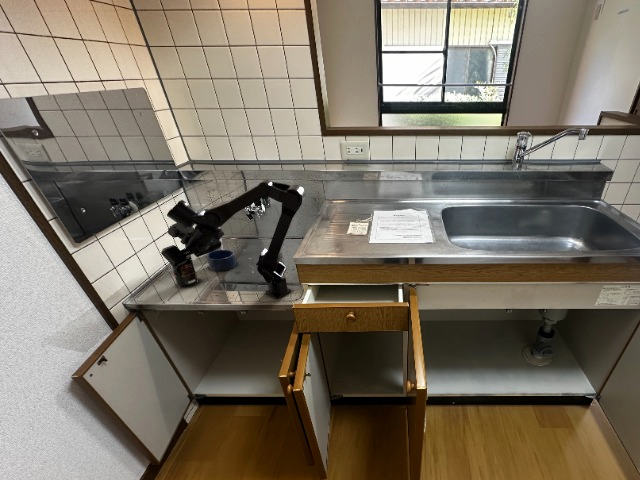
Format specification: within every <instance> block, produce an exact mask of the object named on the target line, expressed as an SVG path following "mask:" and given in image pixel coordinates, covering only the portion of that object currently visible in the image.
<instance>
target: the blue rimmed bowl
mask: <svg viewBox="0 0 640 480" xmlns="http://www.w3.org/2000/svg"><path fill="white" fill-rule="evenodd" d="M206 261H207V264H208V267H209V269H210V271H213V272H224V271H229V270H231V269H234V268H235V267H236V266H237V261H236V256H235V252H234V251H232V250H230V249H223V250H217V251H213V252H210V253H208V254H207V255H206Z"/></svg>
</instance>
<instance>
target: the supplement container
mask: <svg viewBox="0 0 640 480" xmlns="http://www.w3.org/2000/svg"><path fill="white" fill-rule="evenodd" d="M169 265H170V268H171V271H172V274H173V277H174V279H175V282H176V285H177V286H179V287H181V288H189V287H192V286H195V285H197V283H198V282H199V278H198V275H197V273H196V272H197V271H196V269H195V266H194V262H193V259H192V255H190V256H187V261H186V262H185V264H183V265H181V266H178V267H173V266H172V265H171V263H170V262H169Z"/></svg>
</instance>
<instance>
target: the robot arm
mask: <svg viewBox="0 0 640 480" xmlns="http://www.w3.org/2000/svg"><path fill="white" fill-rule="evenodd" d="M306 194H307V193H306V191H305V189H304V188H303V187H302V186H301V185H298V184H292V185H290V184H287V183H283V182H276V181H272V180H269V179H263V180H262V181H261V182H259V183H258V184H256V185H255V186H253V187H251V188H249V189H248V190H246V191H244V192H242V193H241V194H239V195H238V196H235V197H234V198H232V199H230V200H227V201H223V202H219V203H216V204H214V205H212V206H211V207H209V208H205V209H201V210H200V211H198V210H196V209H195V208H194V207H193V206H191V205H190V204H188V203H187V202H186V201H185V200H183V199H180V200H178V202H177V203H175V205H174V206H173V207H172V208H171V209H169V210H168V212H167V214H166V217H168V218H169V219H171V221H173V222H175V223H173V224H171V225H170V226H169V227H168V228H167V234H168V235H169V236H170V237H172V238H173V239H176V238H178V239H179V240H180V241H179V242H180V243H181V244H182V245H184V247H185V248H183V249H180V248H179V247H178V246H177V245H174V244H172V245H169V246H166V247H164V248H162V250H161V252H160V254H161V256H163V258H165V259H166V261H167V262H168V263H169V264H170V263H171V265H172V266H173V267H178V266H181V265H183V264H185V262H186V261H187V256H190V255H191V256H192V255H194V256H195V257H196V258H200V257H202V256H205V255H206V254H207V253H210V252H212V251H215V250H216V249H219V248H220V247H221V246H222V245H223V242H222V243H221V241H220V239H221V238H223V237H224V235H225V232H224V231H223V230H222V228H221V227H222V226H223V225H224V224H226V223H227V222H228V220H230V219H231V218H232V217H233V216H235V215H236V214H237V213H239V212H241V211H242V210H244V209H246V208H247V207H249V206H251V205H253V204H254V203H256V202H258V201H260V200H261V199H263V198H265V197H267V198H270V199H272V200H274V201H276V202H277V203H281V209H280V211H281V213H280V216H279V218H278V221H277V224H276V227H275V229H274V232H273V235H272V238H271V240H270V243H269V246H268V249H267V248H263V249H262V250H261V252H260V254H258V255H259V256H258V260H257V262H256V263H255V266H256V271H257V272H258V274H259V275H260V276H262V278H263V279H264V281H265V283H267V287H268V290H266V291H265V294H267V295H269V296H271V297H273V298H274V299H279V298H281V297H284V296H286V295H287V294H289V293H292V289H290V288H288V283H287V278H286V276H285V273H286V271H287V266H286V265H285V264H284V263H283V262H281V251H282V248H283V245H284V243H285V240H286V238H287V236H288V234H289V233H288V232H289V230H290V228H291V225H292V222H293V219H294V217H295V215H296V214H297V212H298V211H299V209H300V208H301V206H302V204H304V203H303V202H304V201H305V199H306V197H307V195H306ZM195 224H196V227H195ZM219 227H220V229H219ZM171 265H170V266H171Z"/></svg>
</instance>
